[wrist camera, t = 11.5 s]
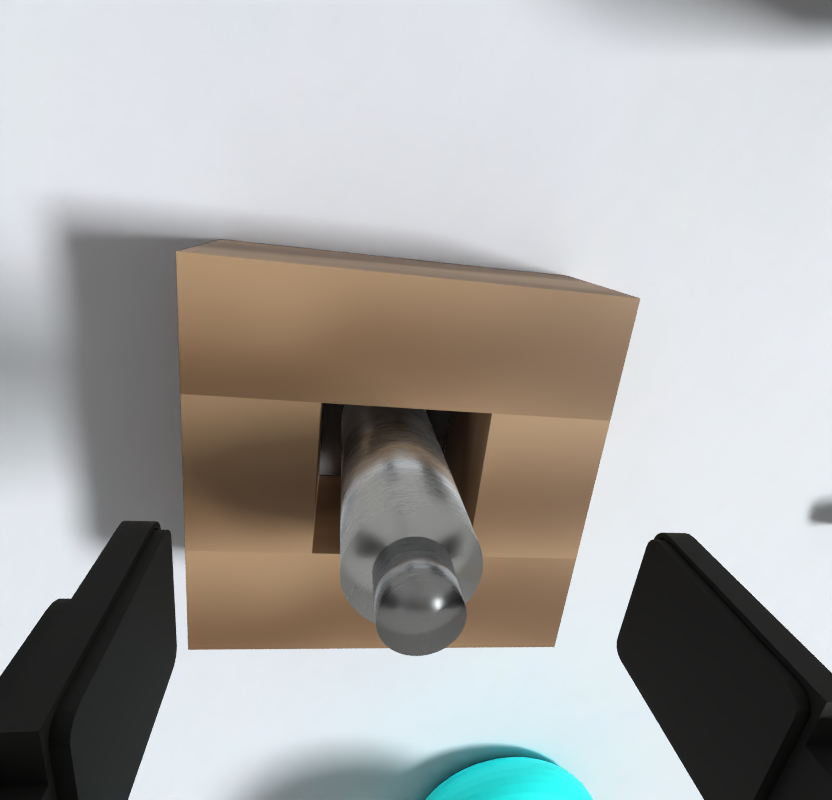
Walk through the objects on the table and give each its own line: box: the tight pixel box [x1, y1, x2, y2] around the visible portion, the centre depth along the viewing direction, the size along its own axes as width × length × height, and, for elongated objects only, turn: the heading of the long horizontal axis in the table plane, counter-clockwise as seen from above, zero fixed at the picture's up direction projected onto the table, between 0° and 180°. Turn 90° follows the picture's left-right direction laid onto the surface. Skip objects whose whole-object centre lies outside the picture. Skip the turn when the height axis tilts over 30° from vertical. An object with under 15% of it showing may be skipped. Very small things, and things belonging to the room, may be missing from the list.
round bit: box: [340, 404, 483, 656], centre depth 15 cm, size 3×3×10 cm
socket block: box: [176, 239, 640, 650], centre depth 18 cm, size 12×12×5 cm
